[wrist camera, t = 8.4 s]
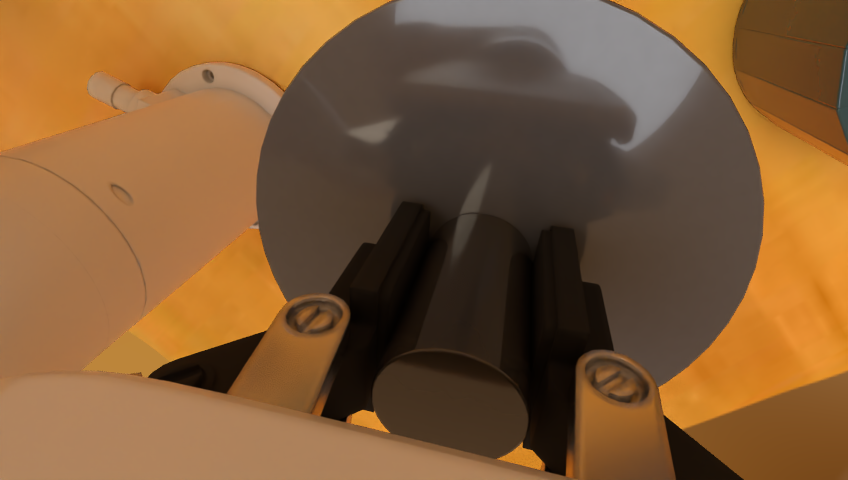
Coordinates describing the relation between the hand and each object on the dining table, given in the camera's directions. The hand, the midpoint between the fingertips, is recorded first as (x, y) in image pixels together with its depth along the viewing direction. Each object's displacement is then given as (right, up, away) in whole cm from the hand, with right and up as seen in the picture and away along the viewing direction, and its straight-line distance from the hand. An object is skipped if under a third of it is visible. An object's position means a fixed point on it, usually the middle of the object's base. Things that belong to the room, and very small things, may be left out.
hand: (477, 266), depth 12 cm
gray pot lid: (0, 0, +1) cm, 1 cm away
